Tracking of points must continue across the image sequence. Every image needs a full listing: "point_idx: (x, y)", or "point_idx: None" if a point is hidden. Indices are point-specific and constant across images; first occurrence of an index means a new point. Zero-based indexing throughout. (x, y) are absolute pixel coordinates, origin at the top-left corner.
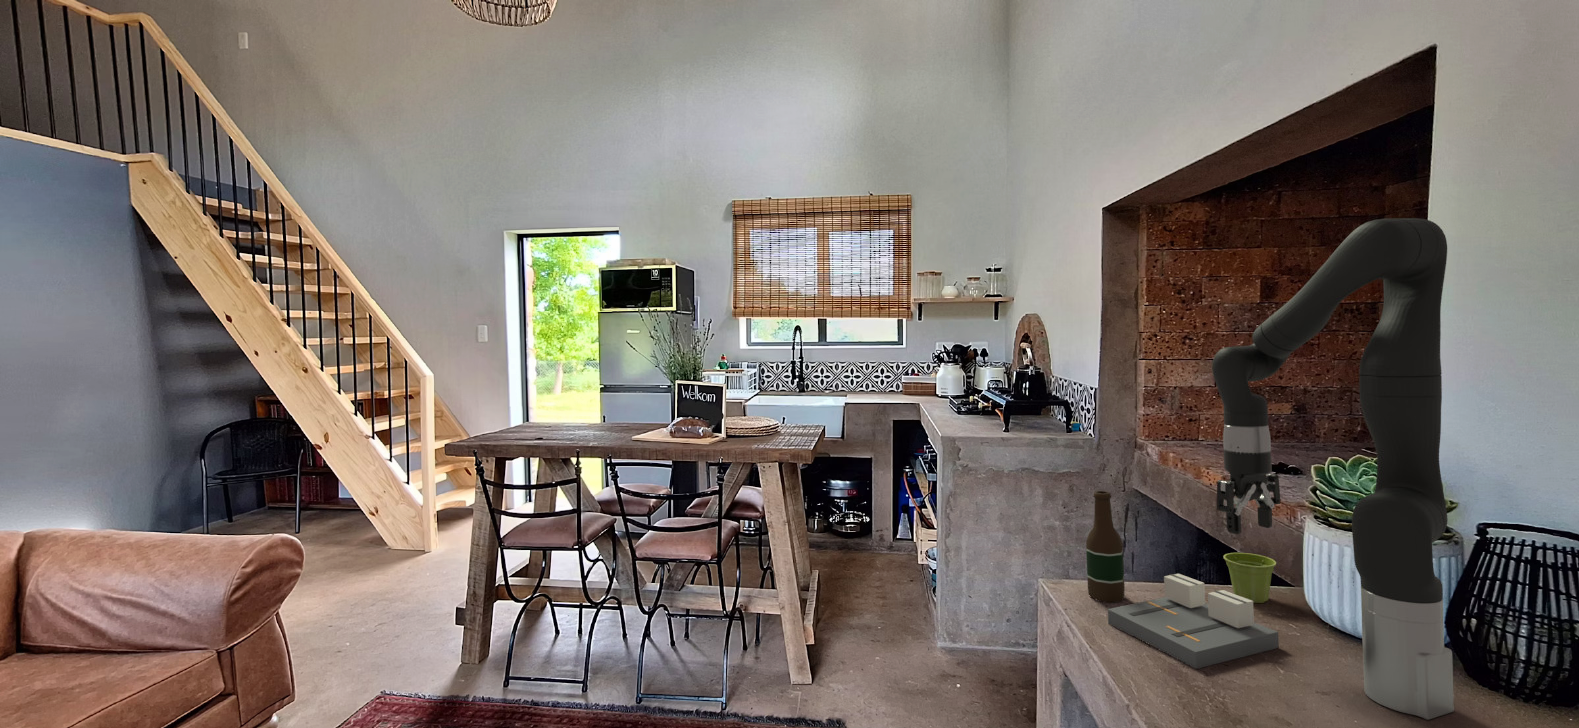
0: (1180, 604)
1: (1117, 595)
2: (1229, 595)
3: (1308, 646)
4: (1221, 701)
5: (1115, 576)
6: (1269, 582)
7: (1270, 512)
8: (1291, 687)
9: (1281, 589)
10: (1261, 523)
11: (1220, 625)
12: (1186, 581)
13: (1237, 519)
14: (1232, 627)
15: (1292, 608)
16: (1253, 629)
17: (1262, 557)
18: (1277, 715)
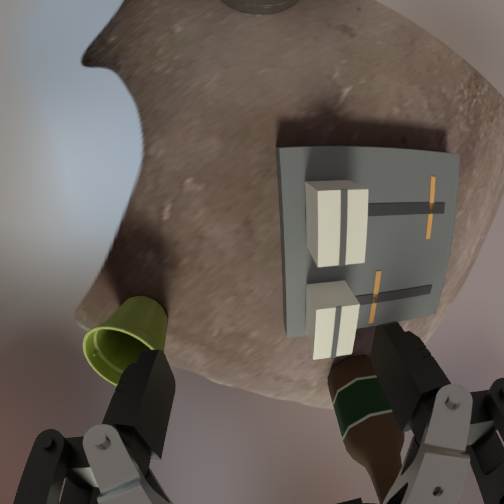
0: None
1: (359, 362)
2: (336, 236)
3: (218, 135)
4: (467, 88)
5: (371, 384)
6: (116, 313)
7: (126, 410)
8: (375, 57)
9: (82, 319)
10: (169, 384)
11: None
12: (340, 325)
13: (429, 372)
14: None
15: (112, 265)
16: (315, 173)
17: (91, 360)
18: (438, 39)
